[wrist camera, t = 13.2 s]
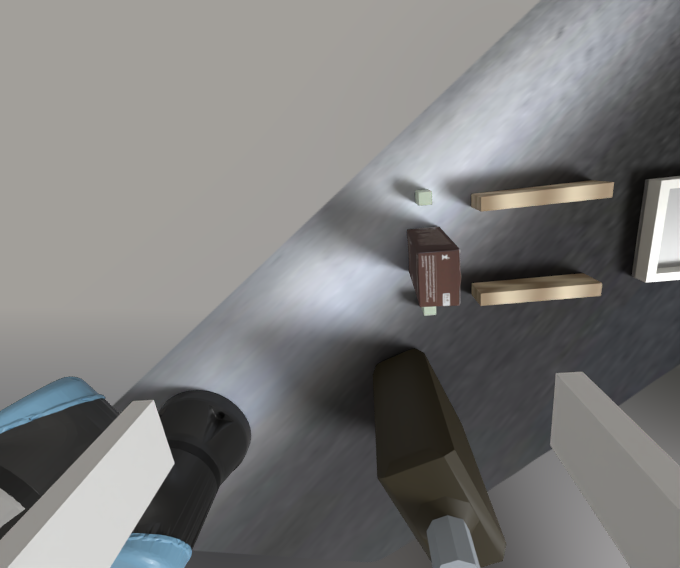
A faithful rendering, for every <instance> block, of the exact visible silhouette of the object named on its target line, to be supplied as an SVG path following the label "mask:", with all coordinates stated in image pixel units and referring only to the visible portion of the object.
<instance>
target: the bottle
mask: <svg viewBox="0 0 680 568" xmlns="http://www.w3.org/2000/svg"><path fill="white" fill-rule="evenodd" d="M373 390H374V412H375V434H376V456H377V477H378V479H379V481H380V483H381V484H382V486H383V487H384V489H385V490H386V492H387V493H388V495H389V497H390V498H391V500H392V501H393V503H394V504H395V506H396V507H397V509H398V511H399V512H400V514H401V515H402V517H403V518H404V520H405V522H406V523H407V525H408V526H409V528H410V529H411V531H412V532H413V534H414V536H415V537H416V539H417V540H418V542H419V543H420V545H421V546H422V548H423V550H424V551H425V552H426V554H427V556H428V557H429V559H430V560H431V562H432V566H433V568H480V567H484V566H487V565H490V564H494V563H497V562H501V561H503V558H504V553H505V548H506V542H505V539H504V536H503V534H502V531H501V528H500V526H499V523H498V520H497V518H496V515H495V512H494V509H493V507H492V504H491V501H490V499H489V496H488V493H487V491H486V488H485V485H484V483H483V480H482V477H481V475H480V472H479V469H478V467H477V464H476V461H475V459H474V456H473V453H472V451H471V448H470V445H469V443H468V440H467V437H466V434H465V432H464V429H463V426H462V424H461V422H460V420H459V418H458V416H457V414H456V412H455V410H454V409H453V407H452V405H451V403H450V401H449V399H448V397H447V395H446V393H445V392H444V390H443V388H442V386H441V384H440V382H439V380H438V378H437V376H436V375H435V373H434V371H433V369H432V367H431V365H430V363H429V361H428V359H427V357H426V356H425V354H424V353H423V352H421V351H419V350H417V349H415V348H414V349H411V350H408V351H406V352H403V353H401V354H399V355H396V356H394V357H392V358H389V359H387V360H385V361H383V362H381V363H379V364H377V365H376V368H375V370H374V373H373Z"/></svg>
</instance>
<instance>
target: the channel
mask: <svg viewBox="0 0 680 568" xmlns="http://www.w3.org/2000/svg"><path fill="white" fill-rule="evenodd" d="M613 186H614V182H605V181H594V180H591V181H582V182H573V183H564V184H555V185H546V186H537V187H528V188H519V189H510V190H501V191H493V192H484V193H475V194H471V207H472V208H475V209H477V210H479V211H490V210H499V209H508V208H518V207H527V206H536V205H545V204H555V203H564V202H573V201H583V200H592V199H601V198H611V197H612V194H613ZM601 289H602V283H601V282H599V281H597V280H595V279H593V278H591V277H589V276H587V275H585V274H583V273H580V274H569V275H558V276H546V277H535V278H524V279H513V280H502V281H491V282H479V283H472V296H473V297H474V298H475V299H476V301H477V302H478V303H479V304H480V306H484V305H496V304H508V303H520V302H532V301H544V300H556V299H568V298H580V297H592V296H601Z"/></svg>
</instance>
